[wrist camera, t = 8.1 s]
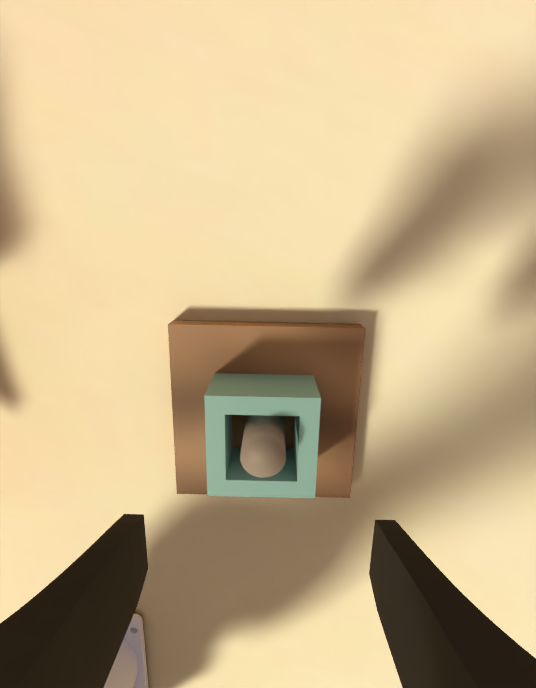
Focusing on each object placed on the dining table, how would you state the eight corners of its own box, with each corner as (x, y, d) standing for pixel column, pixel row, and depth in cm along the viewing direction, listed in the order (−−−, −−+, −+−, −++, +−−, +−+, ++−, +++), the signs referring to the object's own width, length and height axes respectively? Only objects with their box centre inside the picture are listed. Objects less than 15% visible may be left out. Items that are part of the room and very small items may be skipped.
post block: (346, 486, 22) (367, 554, 17) (181, 482, 22) (155, 549, 17) (360, 324, 19) (389, 349, 15) (173, 320, 19) (140, 344, 15)
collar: (308, 462, 20) (315, 498, 17) (216, 460, 20) (207, 495, 18) (313, 375, 19) (321, 398, 16) (214, 373, 19) (204, 395, 16)
